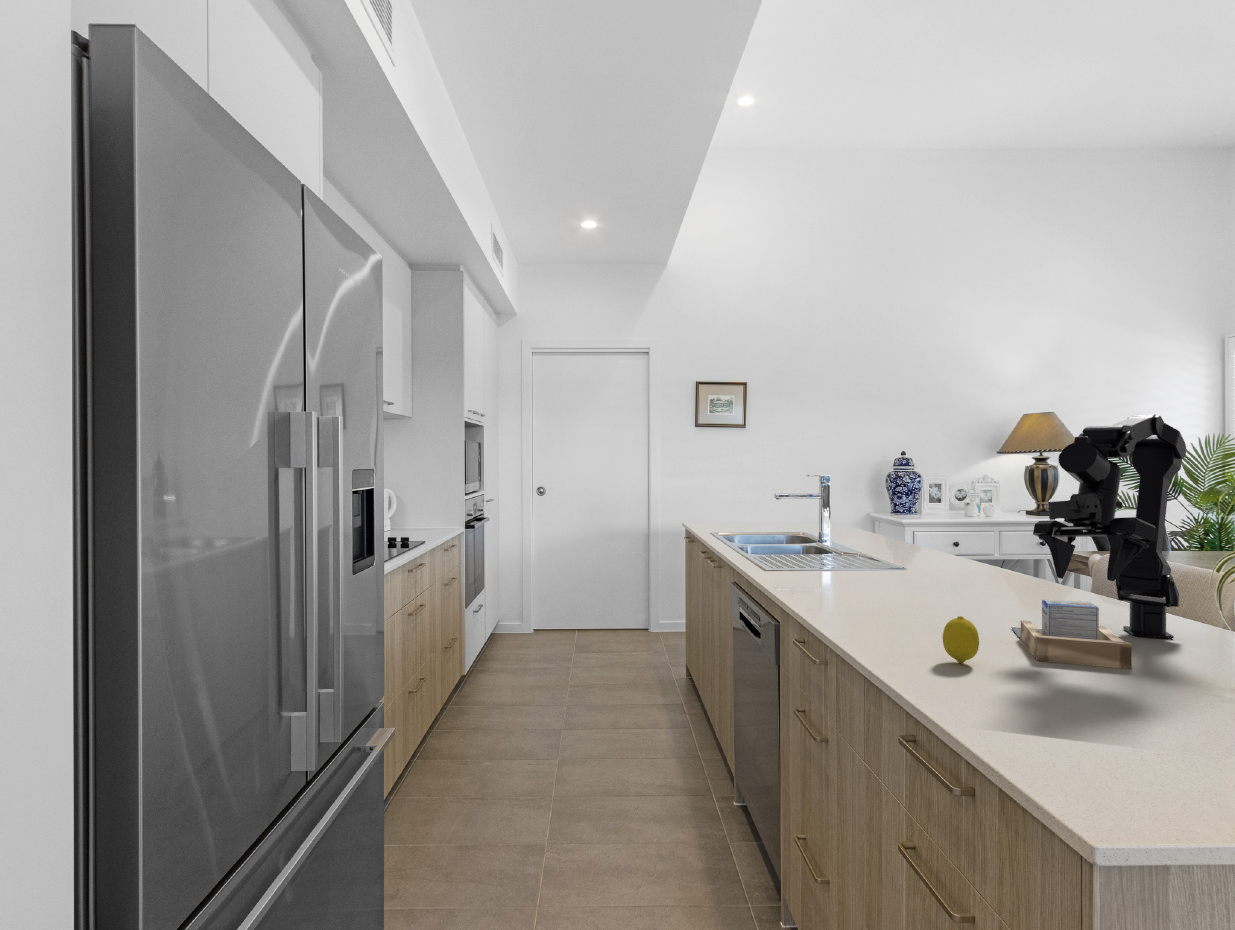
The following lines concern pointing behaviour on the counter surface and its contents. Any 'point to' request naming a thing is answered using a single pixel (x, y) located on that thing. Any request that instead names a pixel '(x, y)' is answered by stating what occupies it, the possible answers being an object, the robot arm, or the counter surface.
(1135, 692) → the counter surface
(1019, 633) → the mat
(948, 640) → the lemon
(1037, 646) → the dispenser rack
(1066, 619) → the medicine box
